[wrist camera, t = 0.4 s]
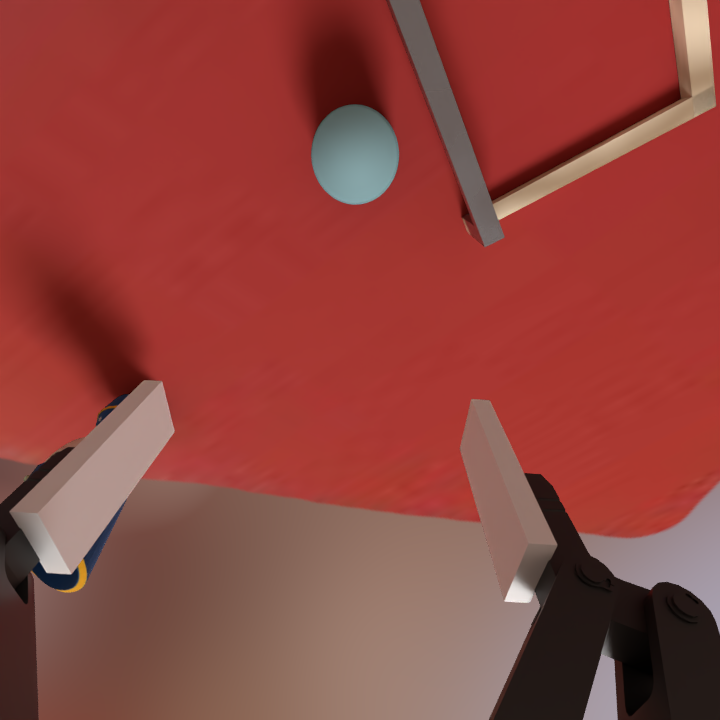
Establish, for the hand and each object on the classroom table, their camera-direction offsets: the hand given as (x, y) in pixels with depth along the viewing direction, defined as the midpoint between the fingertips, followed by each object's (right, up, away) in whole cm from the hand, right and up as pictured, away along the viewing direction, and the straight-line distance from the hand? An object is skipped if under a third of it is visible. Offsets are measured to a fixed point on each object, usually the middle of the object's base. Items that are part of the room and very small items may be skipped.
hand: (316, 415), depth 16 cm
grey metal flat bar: (+8, +23, +14) cm, 28 cm away
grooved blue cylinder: (+2, +20, +16) cm, 26 cm away
